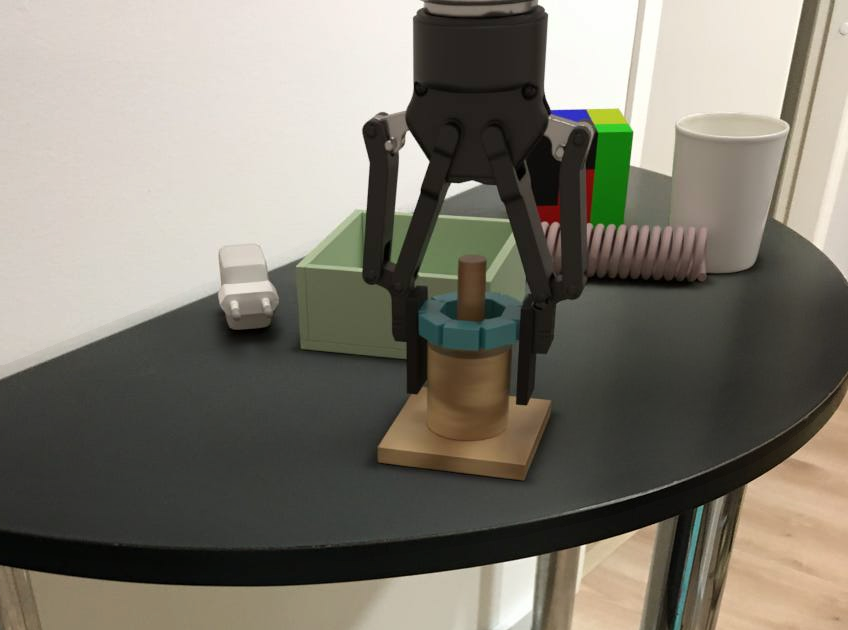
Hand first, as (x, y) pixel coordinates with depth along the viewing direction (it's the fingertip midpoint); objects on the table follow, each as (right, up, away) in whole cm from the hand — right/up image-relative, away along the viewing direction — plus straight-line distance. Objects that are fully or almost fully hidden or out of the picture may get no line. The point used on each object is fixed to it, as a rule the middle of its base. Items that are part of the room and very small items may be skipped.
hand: (470, 390), depth 75 cm
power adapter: (-17, +9, +19) cm, 27 cm away
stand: (0, -3, +2) cm, 4 cm away
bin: (-3, +10, +19) cm, 22 cm away
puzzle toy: (+14, +26, +40) cm, 50 cm away
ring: (0, +3, -3) cm, 4 cm away
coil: (+15, +17, +27) cm, 35 cm away
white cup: (+26, +19, +30) cm, 44 cm away
